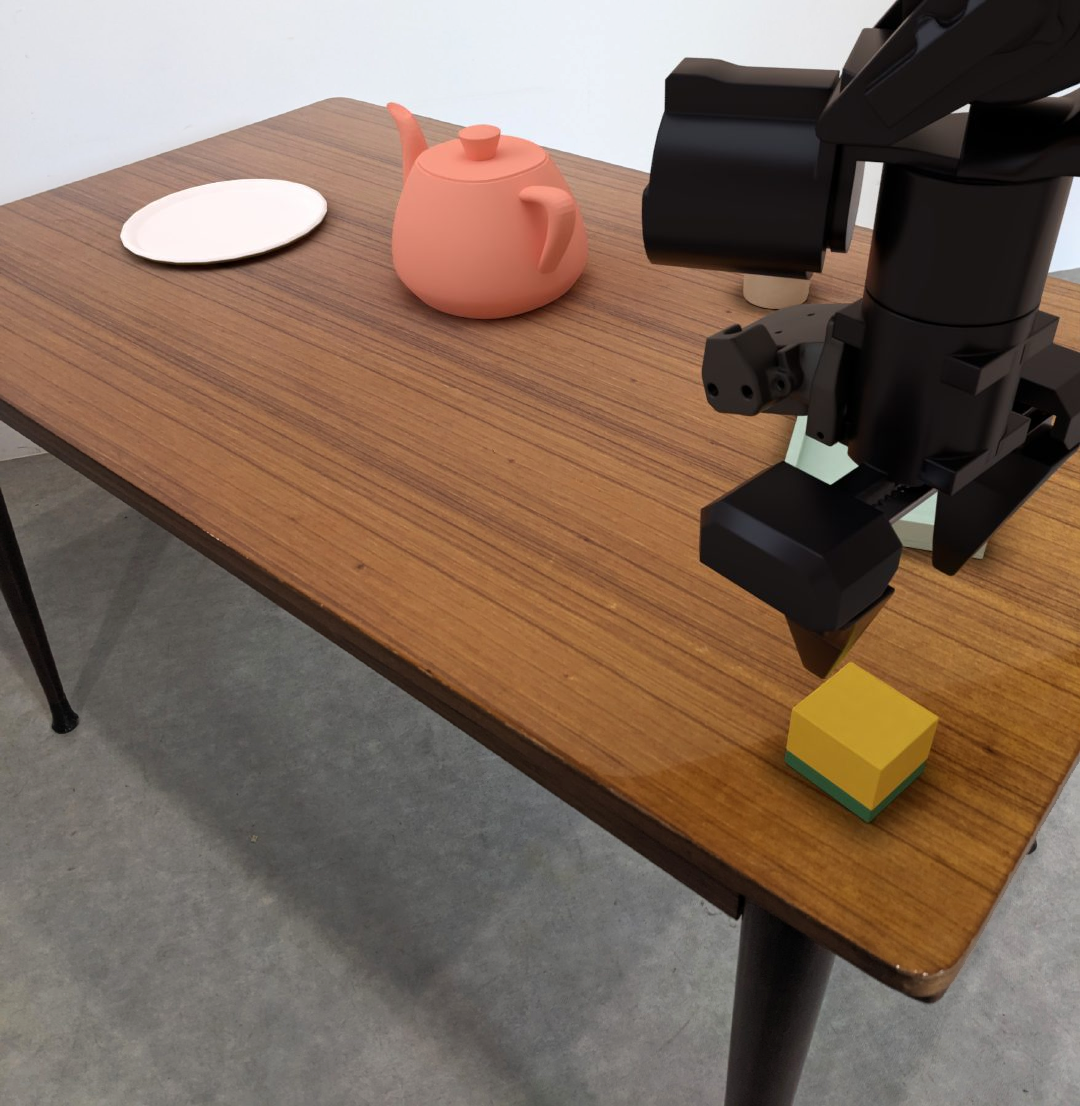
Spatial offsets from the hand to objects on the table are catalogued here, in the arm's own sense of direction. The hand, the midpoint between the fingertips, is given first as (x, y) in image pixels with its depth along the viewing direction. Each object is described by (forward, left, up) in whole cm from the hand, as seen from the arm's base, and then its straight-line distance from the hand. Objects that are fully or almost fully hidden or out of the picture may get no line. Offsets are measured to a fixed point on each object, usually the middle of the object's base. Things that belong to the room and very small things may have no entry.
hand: (882, 618), depth 46 cm
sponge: (0, 0, -10) cm, 10 cm away
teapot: (+56, -21, -10) cm, 60 cm away
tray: (+14, -23, -10) cm, 29 cm away
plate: (+85, -10, -10) cm, 86 cm away
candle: (+35, -36, -10) cm, 51 cm away
